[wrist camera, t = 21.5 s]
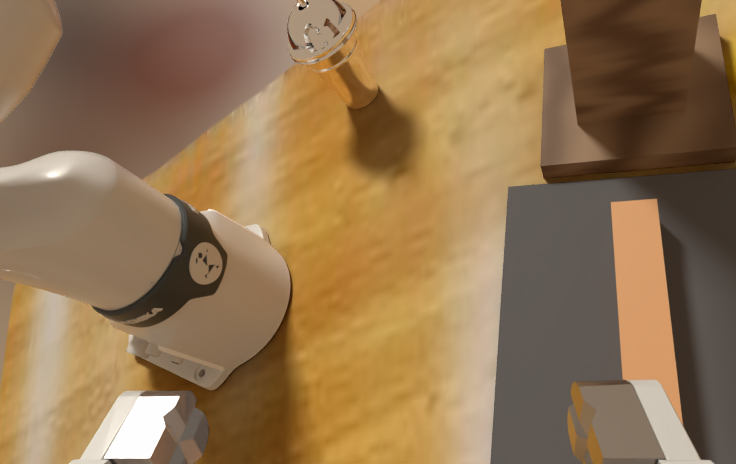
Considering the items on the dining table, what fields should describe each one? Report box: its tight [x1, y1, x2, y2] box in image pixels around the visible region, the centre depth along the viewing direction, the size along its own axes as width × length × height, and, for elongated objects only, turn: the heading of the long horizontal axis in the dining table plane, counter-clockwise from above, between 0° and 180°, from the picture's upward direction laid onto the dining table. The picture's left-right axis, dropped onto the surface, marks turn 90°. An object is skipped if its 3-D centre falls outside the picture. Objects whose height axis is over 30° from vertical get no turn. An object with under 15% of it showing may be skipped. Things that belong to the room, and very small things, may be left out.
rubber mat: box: [491, 169, 736, 464], centre depth 33 cm, size 20×30×1 cm, turn 169°
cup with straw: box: [287, 0, 378, 109], centre depth 52 cm, size 8×9×20 cm
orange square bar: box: [611, 199, 683, 425], centre depth 32 cm, size 3×20×3 cm, turn 170°
